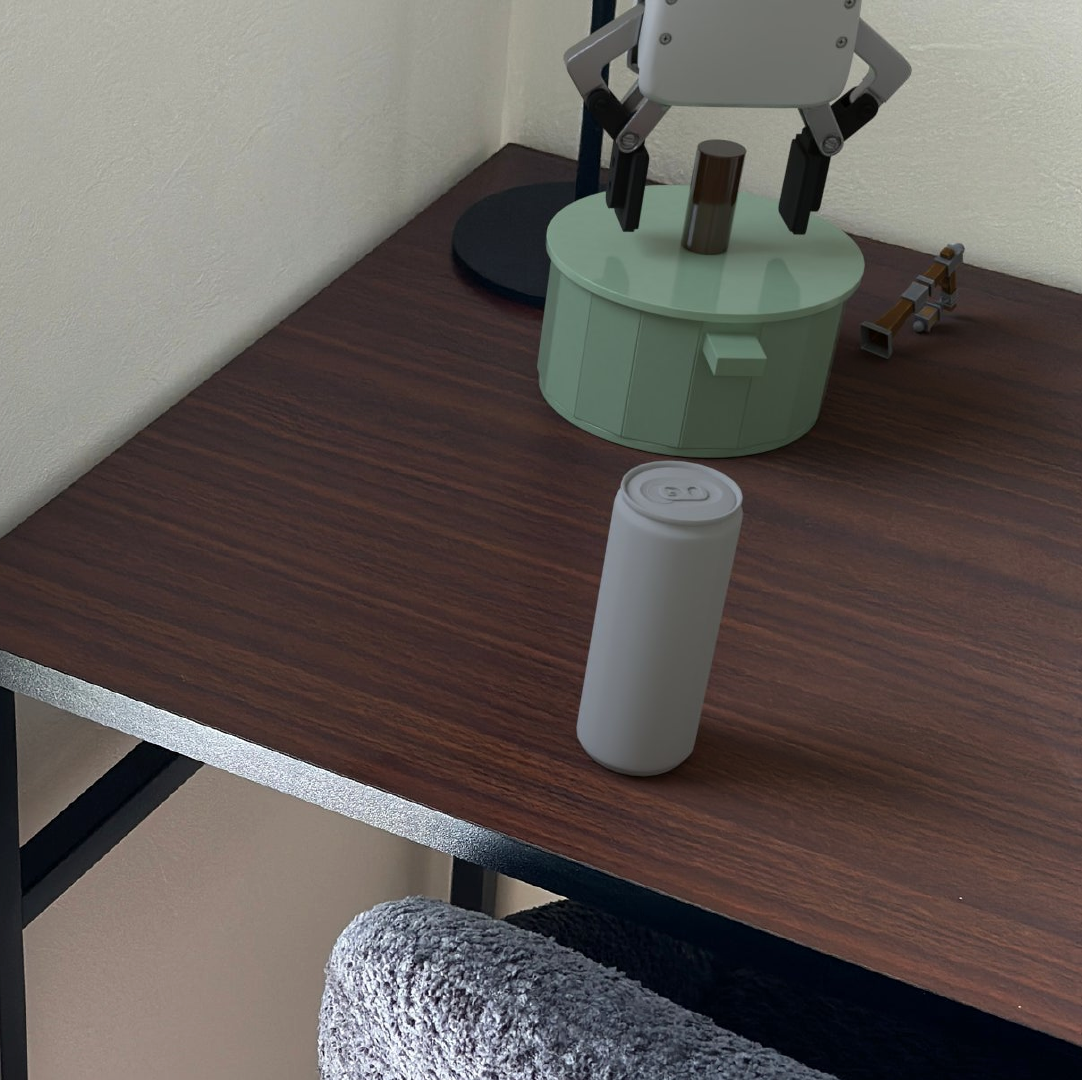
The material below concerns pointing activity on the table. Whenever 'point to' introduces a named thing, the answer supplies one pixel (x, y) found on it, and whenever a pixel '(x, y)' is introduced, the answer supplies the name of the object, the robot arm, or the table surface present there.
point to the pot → (682, 375)
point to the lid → (706, 250)
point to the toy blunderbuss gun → (917, 303)
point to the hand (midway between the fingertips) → (708, 220)
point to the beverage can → (658, 615)
